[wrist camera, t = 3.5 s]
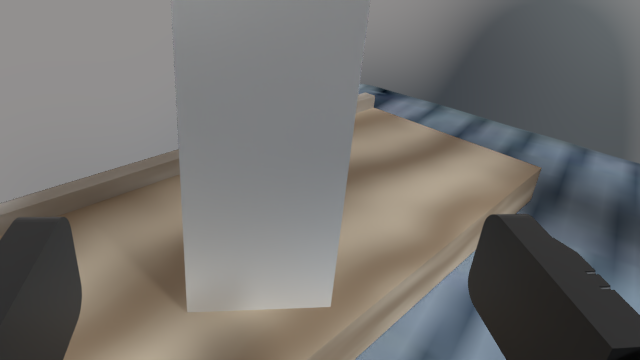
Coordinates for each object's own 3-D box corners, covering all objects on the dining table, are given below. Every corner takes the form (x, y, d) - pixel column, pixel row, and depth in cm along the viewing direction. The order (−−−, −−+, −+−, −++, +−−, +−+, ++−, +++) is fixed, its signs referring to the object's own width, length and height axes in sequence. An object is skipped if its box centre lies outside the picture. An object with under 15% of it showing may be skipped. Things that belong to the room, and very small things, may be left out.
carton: (311, 228, 24) (343, -97, 18) (330, 307, 19) (383, -98, 13) (196, 229, 23) (183, -114, 17) (185, 312, 19) (162, -122, 12)
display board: (530, 199, 34) (545, 154, 33) (134, 558, 14) (121, 484, 12) (356, 130, 43) (361, 91, 41) (-51, 285, 22) (-73, 220, 20)
